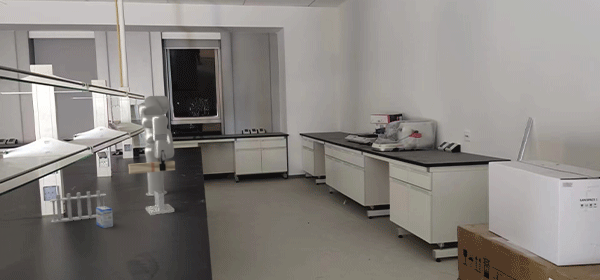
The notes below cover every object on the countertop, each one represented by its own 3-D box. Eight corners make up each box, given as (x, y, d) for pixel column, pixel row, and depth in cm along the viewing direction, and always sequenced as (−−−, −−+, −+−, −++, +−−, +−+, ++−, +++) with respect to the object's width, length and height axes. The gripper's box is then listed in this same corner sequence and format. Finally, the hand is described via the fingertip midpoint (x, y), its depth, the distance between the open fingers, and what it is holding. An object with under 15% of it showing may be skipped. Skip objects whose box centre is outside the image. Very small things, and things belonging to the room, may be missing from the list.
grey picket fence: (51, 223, 210) (49, 196, 209) (51, 221, 214) (49, 194, 213) (107, 216, 221) (106, 190, 220) (107, 214, 225) (105, 189, 224)
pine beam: (128, 173, 238) (128, 164, 238) (173, 169, 250) (172, 160, 250) (130, 174, 234) (129, 164, 234) (175, 169, 246) (174, 161, 246)
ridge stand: (145, 209, 234) (144, 191, 233) (168, 206, 240) (167, 188, 239) (150, 215, 222) (149, 195, 221) (174, 211, 227) (173, 192, 227)
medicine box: (96, 225, 204) (95, 207, 204) (106, 223, 208) (104, 205, 207) (103, 228, 199) (102, 209, 198) (113, 226, 202) (112, 208, 201)
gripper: (150, 137, 249) (152, 169, 250) (156, 138, 234) (157, 172, 236) (164, 136, 252) (165, 168, 254) (170, 138, 238) (172, 171, 239)
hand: (161, 169), depth 245 cm, fingers closed on pine beam, 4 cm apart
